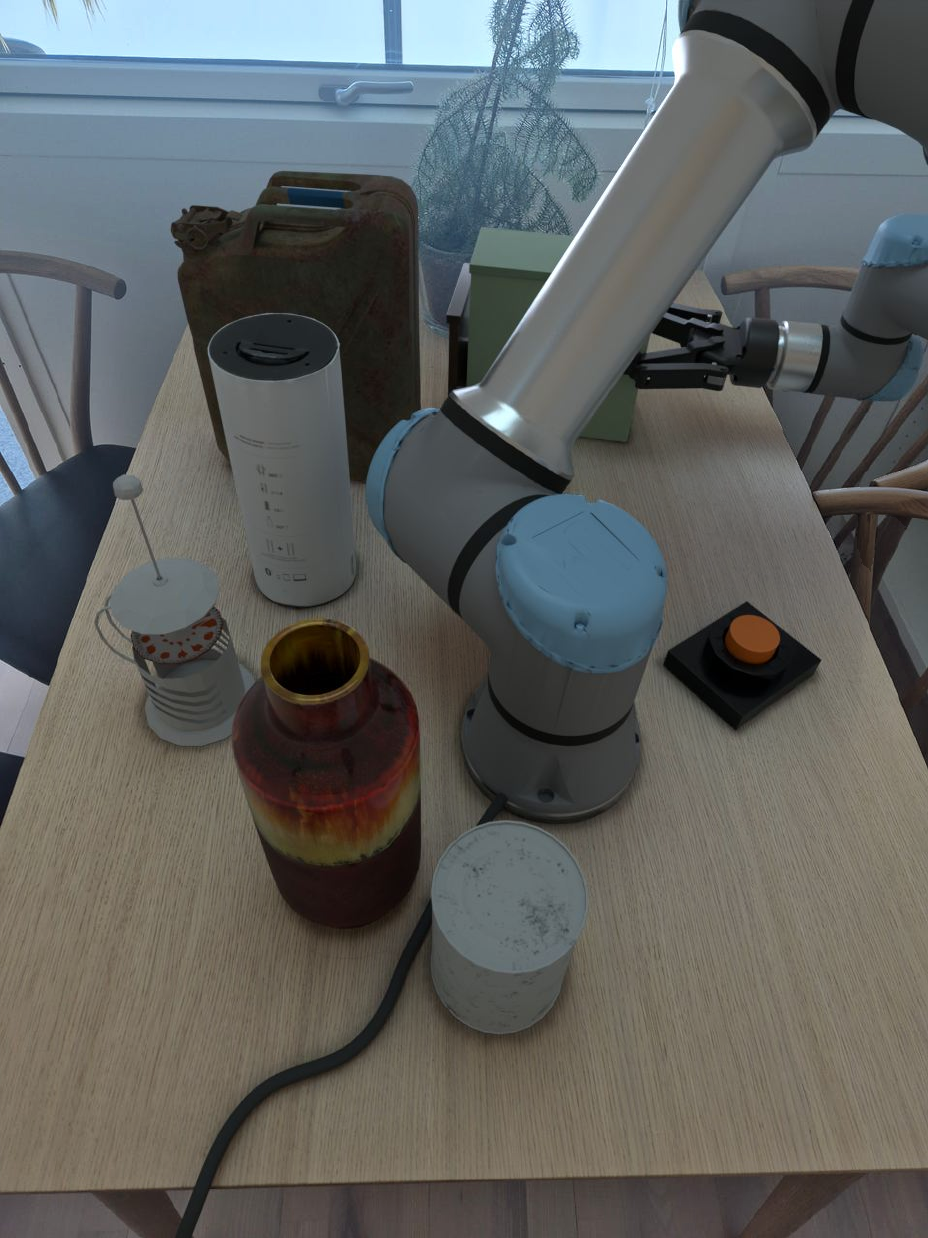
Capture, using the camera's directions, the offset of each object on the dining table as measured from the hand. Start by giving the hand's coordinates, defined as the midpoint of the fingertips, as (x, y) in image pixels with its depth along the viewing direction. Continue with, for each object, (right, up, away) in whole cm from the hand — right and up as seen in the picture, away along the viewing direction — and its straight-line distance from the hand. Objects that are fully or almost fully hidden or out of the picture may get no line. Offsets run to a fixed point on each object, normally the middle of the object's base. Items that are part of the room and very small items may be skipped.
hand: (575, 333), depth 96 cm
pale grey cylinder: (-11, -58, -37) cm, 70 cm away
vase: (-22, -53, -33) cm, 66 cm away
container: (-30, -14, +1) cm, 33 cm away
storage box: (-2, -7, +8) cm, 11 cm away
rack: (-8, -6, +9) cm, 13 cm away
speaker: (-29, -29, -12) cm, 42 cm away
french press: (-37, -40, -22) cm, 59 cm away
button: (+13, -36, -21) cm, 43 cm away
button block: (+13, -38, -18) cm, 44 cm away
